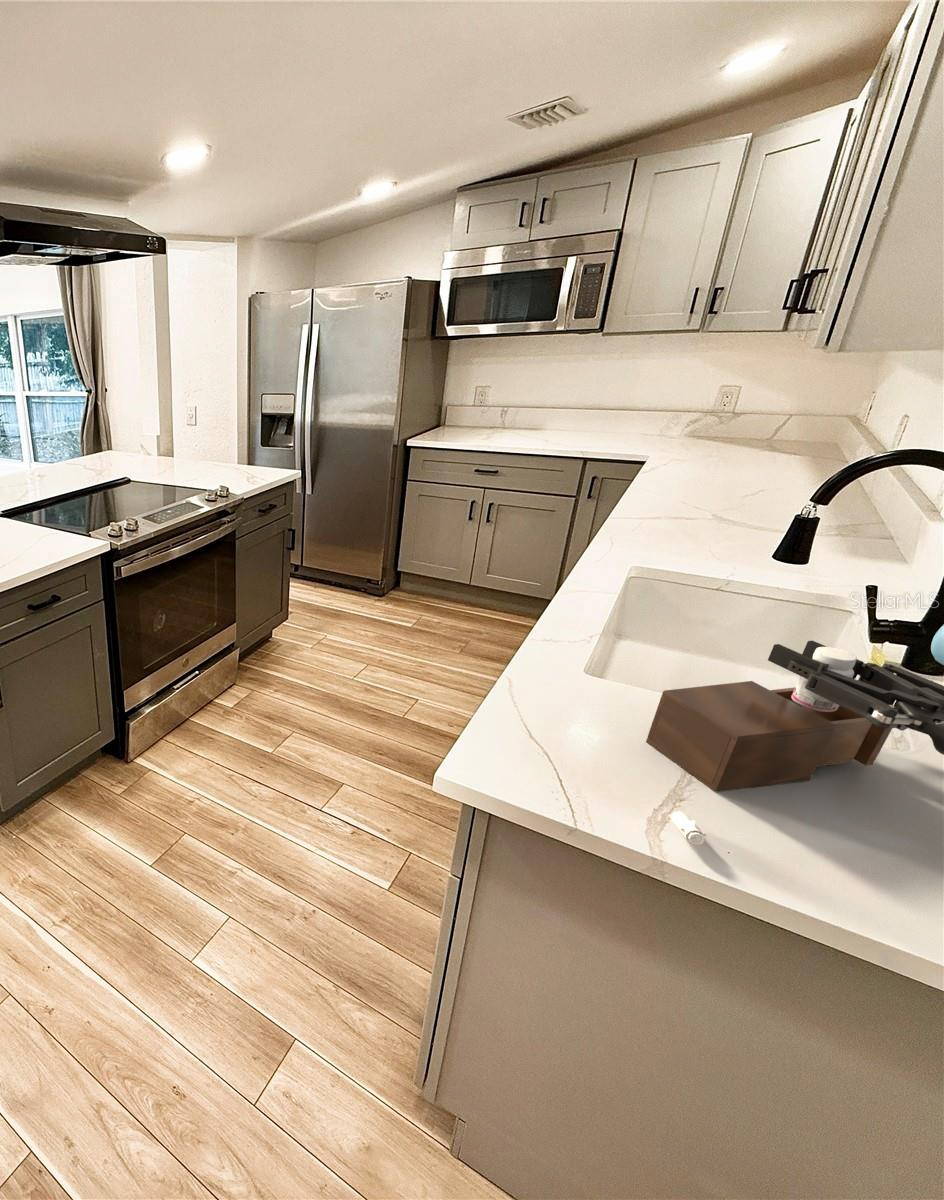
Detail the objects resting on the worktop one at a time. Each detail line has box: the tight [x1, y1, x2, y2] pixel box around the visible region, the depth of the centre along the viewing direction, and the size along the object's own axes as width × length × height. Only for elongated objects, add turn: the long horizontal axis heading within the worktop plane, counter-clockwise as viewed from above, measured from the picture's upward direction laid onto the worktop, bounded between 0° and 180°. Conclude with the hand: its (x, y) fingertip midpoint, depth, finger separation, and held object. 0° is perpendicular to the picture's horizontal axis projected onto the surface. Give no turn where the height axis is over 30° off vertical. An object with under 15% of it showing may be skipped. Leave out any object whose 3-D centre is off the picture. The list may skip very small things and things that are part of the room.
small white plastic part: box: [670, 811, 707, 846], centre depth 79 cm, size 4×6×3 cm, turn 134°
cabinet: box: [645, 680, 837, 793], centre depth 90 cm, size 15×12×10 cm
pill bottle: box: [792, 646, 858, 712], centre depth 87 cm, size 5×5×8 cm
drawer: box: [769, 686, 908, 767], centre depth 91 cm, size 19×10×8 cm, turn 96°
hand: (790, 650), depth 91 cm, fingers closed on pill bottle, 5 cm apart
